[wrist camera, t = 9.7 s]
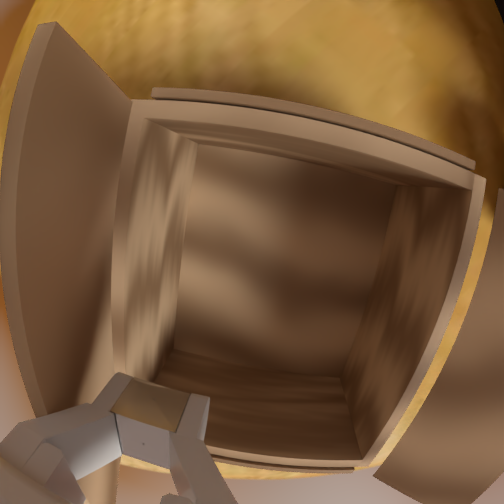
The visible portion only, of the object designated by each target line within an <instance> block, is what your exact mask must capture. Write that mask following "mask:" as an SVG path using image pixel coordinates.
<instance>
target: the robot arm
mask: <svg viewBox="0 0 504 504" xmlns="http://www.w3.org/2000/svg"><path fill="white" fill-rule="evenodd" d="M209 404H210V397H207V396H203V395H198V394H193V393H188V392H184V391H180V390H176V389H172V388H168V387H165V386H161V385H158V384H155V383H151V382H148V381H145V380H142V379H139V378H136V377H132V376H129V375H127V374H124V373H121V372H118V373H116V374H114V376H113V377H112V378H111V380H110V381H109V382H108V383H107V385H106V386H105V387H104V389H103V390H102V391H101V392H100V394H99V395H98V396H97V398H96V399H95V400H94V402H93V403H92V404H89V403H84V404H81V405H78V406H75V407H72V408H68V409H65V410H62V411H59V412H55V413H52V414H49V415H45V416H42V417H38V418H35V419H31V420H27V421H24V422H20V423H18V424H17V425H16V426H15V427H14V428H13V430H12V431H11V432H10V433H9V434H8V435H7V436H6V437H5V438H4V440H3V441H2V442H1V443H0V504H84V502H85V500H86V497H85V495H84V493H83V491H82V489H81V488H80V486H79V484H78V482H77V480H79V479H81V478H83V477H84V476H86V475H88V474H90V473H92V472H94V471H96V470H97V469H99V468H101V467H103V466H105V465H106V464H108V463H110V462H112V461H113V460H115V459H117V458H119V457H120V456H122V454H124V455H127V456H130V457H133V458H136V459H139V460H142V461H146V462H148V463H151V464H154V465H157V466H160V467H164V468H167V469H170V472H171V475H172V478H173V481H174V484H175V486H176V489H177V492H178V494H179V496H177V495H173V494H167V495H164V496H162V499H161V502H160V504H238V503H237V501H236V500H235V498H234V496H233V495H232V493H231V491H230V489H229V488H228V486H227V484H226V483H225V481H224V479H223V477H222V475H221V474H220V472H219V470H218V468H217V466H216V464H215V463H214V461H213V459H212V457H211V455H210V453H209V451H208V449H207V447H206V445H205V443H204V436H205V431H206V426H207V419H208V411H209Z"/></svg>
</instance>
